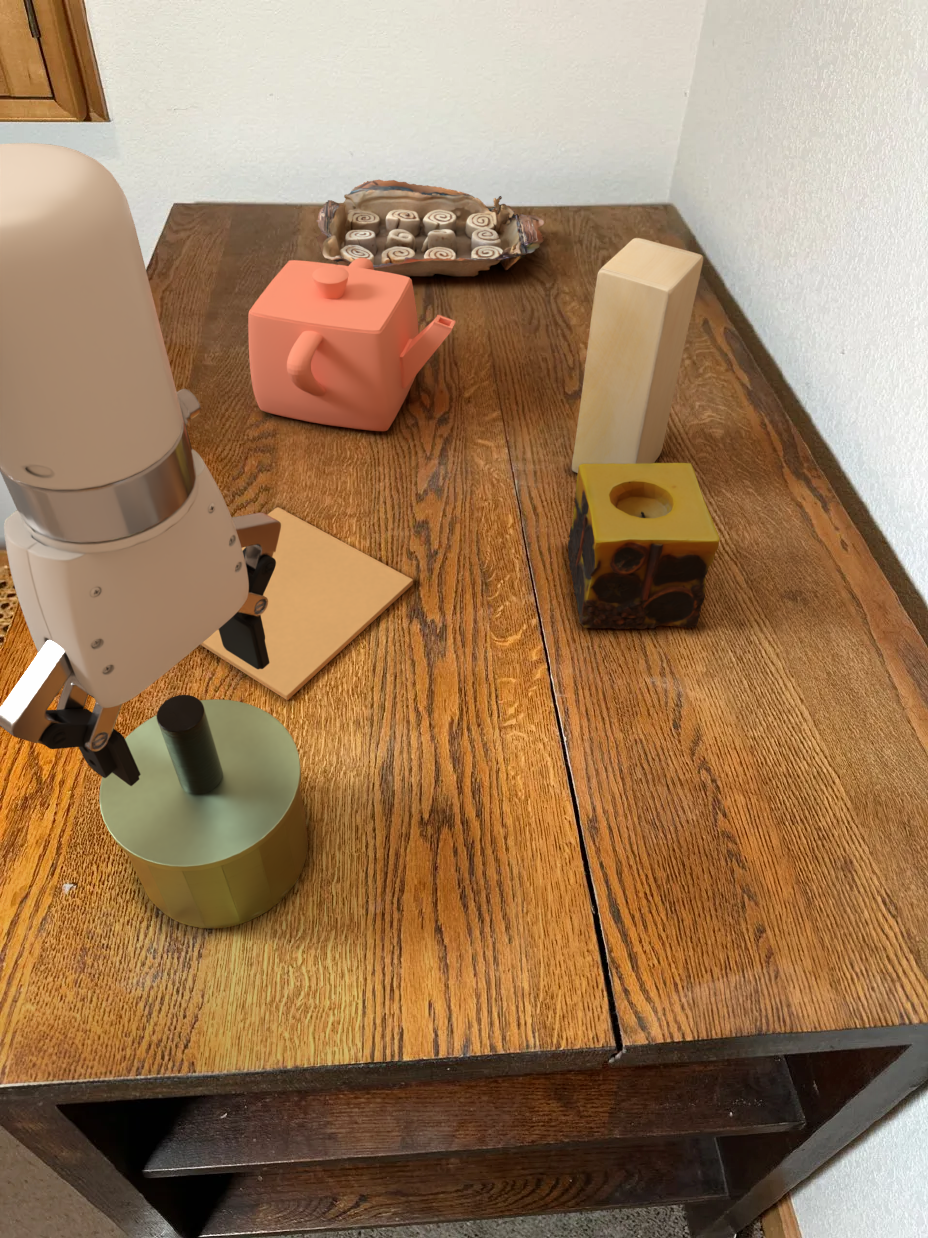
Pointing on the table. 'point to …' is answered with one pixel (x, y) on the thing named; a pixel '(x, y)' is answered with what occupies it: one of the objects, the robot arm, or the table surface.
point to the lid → (202, 784)
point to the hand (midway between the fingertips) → (185, 710)
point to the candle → (640, 545)
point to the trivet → (314, 604)
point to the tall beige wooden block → (635, 352)
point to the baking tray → (424, 230)
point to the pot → (232, 880)
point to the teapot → (338, 344)
